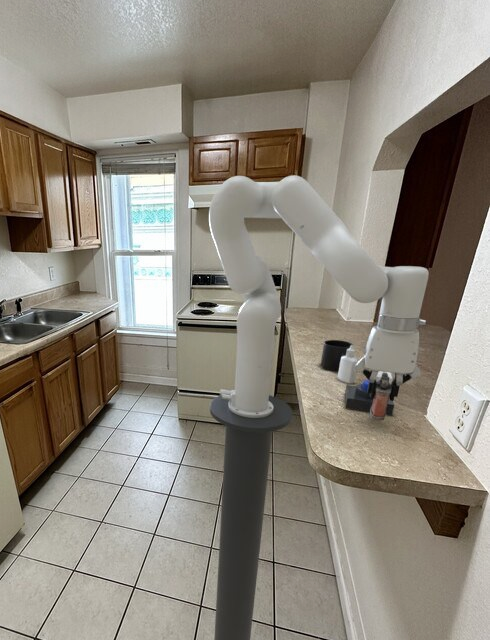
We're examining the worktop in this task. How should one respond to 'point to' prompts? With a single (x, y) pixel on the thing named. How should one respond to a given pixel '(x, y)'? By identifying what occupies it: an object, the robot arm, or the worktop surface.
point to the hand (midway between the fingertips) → (381, 396)
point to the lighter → (381, 398)
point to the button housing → (362, 399)
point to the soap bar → (381, 376)
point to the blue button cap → (365, 384)
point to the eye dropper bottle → (348, 367)
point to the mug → (333, 354)
